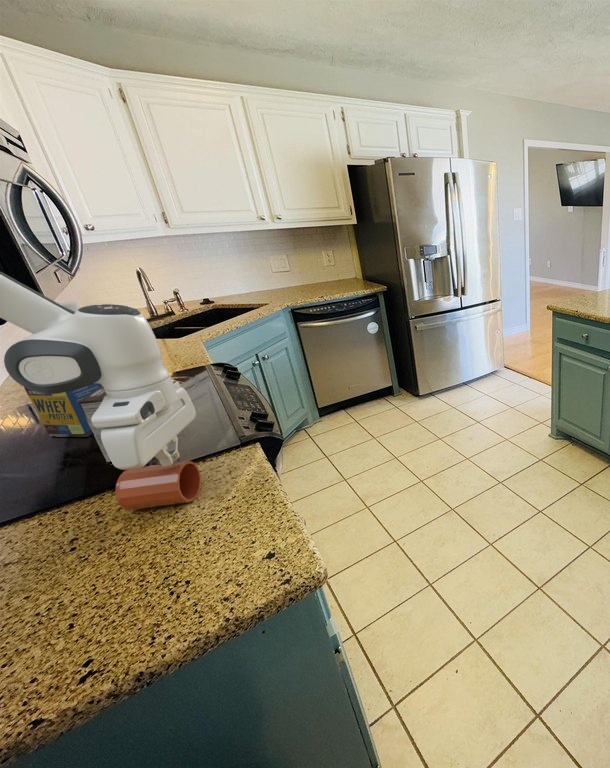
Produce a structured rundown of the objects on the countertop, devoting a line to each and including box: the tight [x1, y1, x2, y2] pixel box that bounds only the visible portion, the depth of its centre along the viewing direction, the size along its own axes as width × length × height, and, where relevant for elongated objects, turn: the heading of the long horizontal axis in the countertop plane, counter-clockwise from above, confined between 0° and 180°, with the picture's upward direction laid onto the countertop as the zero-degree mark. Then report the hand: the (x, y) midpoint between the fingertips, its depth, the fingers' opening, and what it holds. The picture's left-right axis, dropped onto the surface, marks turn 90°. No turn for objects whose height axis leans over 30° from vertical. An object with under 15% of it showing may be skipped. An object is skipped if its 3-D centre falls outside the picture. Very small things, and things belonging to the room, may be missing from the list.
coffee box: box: [78, 386, 111, 463], centre depth 94 cm, size 9×6×16 cm
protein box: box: [23, 383, 102, 435], centre depth 108 cm, size 10×15×16 cm
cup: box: [115, 460, 202, 511], centre depth 79 cm, size 8×8×10 cm
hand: (171, 462), depth 77 cm, fingers closed
